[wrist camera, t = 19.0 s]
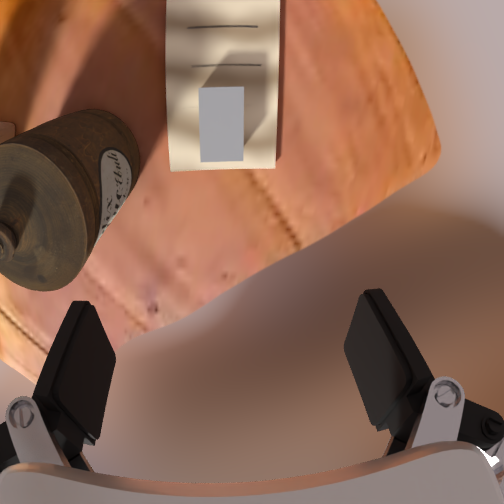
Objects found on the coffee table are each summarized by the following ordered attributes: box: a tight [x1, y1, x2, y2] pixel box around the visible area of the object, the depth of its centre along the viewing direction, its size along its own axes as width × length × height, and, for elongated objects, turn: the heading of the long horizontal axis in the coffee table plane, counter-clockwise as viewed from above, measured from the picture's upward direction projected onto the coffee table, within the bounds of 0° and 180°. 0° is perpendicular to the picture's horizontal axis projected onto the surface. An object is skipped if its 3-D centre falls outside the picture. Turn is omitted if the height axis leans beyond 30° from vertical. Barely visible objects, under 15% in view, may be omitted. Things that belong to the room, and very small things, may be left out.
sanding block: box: [198, 86, 244, 162], centre depth 30 cm, size 8×4×5 cm, turn 179°
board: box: [166, 0, 280, 172], centre depth 30 cm, size 24×13×2 cm, turn 179°
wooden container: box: [0, 109, 140, 291], centre depth 25 cm, size 15×15×22 cm
